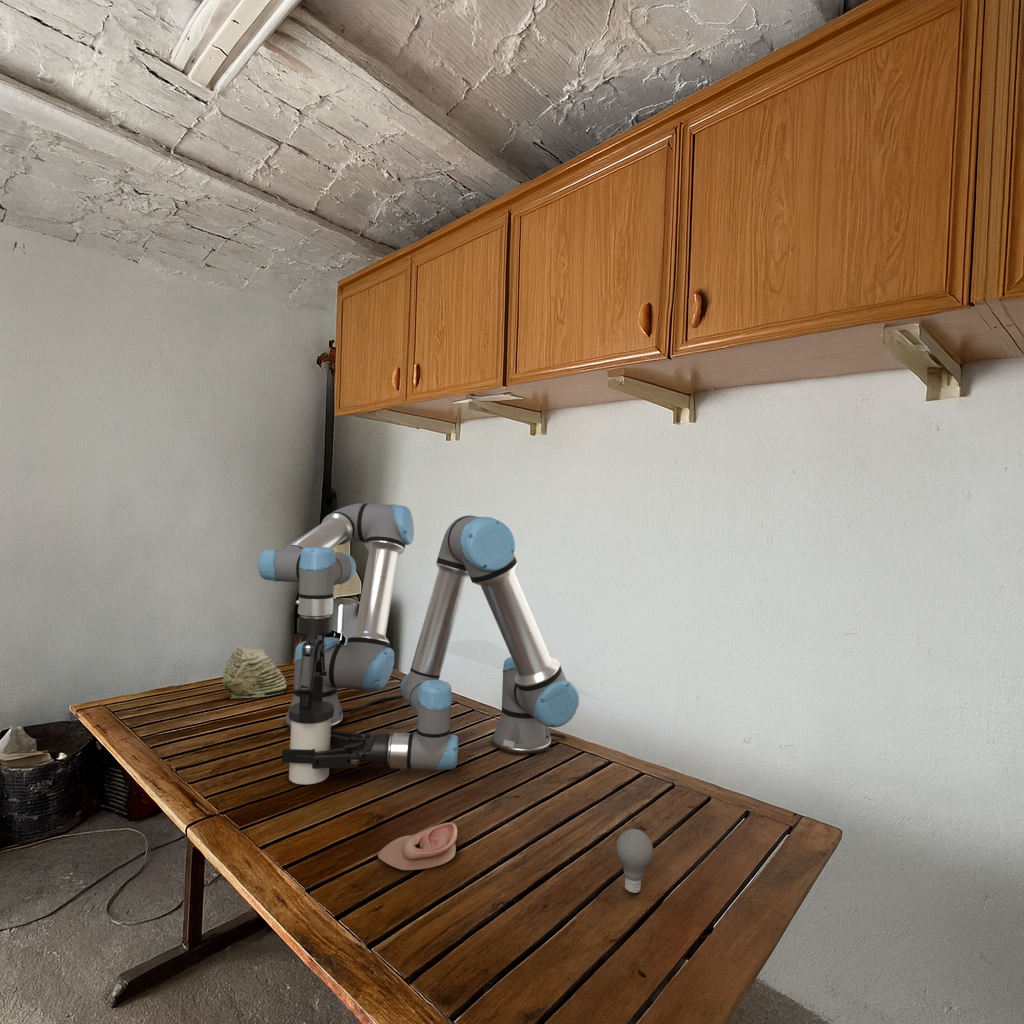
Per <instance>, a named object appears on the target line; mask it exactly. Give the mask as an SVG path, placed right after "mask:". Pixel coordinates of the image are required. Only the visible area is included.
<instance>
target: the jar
mask: <svg viewBox="0 0 1024 1024" xmlns="http://www.w3.org/2000/svg"><path fill="white" fill-rule="evenodd" d="M331 730H332V729H331V718H330V719H329V720H326V721H323V722H318V723H297V722H294V721H291V729H290V740H289V749H302V750H312V749H315V752H318V751H325V750H331V746H330V735H331ZM288 765H289V766H288V767H289V768H288V779H289V781H290V782H292V783H293V784H297V785H313V784H318V783H321V782H323V781H325V780H326V779H328V778H329V776H330V768H320V769H313V768H312V763H288Z"/></svg>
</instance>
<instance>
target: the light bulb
mask: <svg viewBox="0 0 1024 1024" xmlns="http://www.w3.org/2000/svg"><path fill="white" fill-rule="evenodd" d="M615 849H616V854H617V857H618V859H619V861H620V863H621V865H622V867H623V873H624V874H623V875H624V876H625V878H624V888H625V890H627V891H628V892H630V893H634V894H635V893H639V892H640V891H641V889H642V887H641V886H642V879H643V877H644V875H645V871H646V868H647V867H648V866H649V864H650V863H651V861H652V859H653V855H654V847H653V843H652V841H651V838H649V836H648V835H647V834H646V833H645V832H643V831H642V830H641V829H636V828H629V829H627V830H625V831H623V832H622V833H621V834H620V835H619V837H618V839H617V841H616V847H615Z"/></svg>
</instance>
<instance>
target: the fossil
mask: <svg viewBox="0 0 1024 1024" xmlns="http://www.w3.org/2000/svg"><path fill="white" fill-rule="evenodd" d="M222 676H223V677H222V685H223V687H224V688H225V690H226V691H228V693H229V698H230V699H250V698H264V697H271V696H275V695H281V694H284V693H285V691H286V689H287V687H288V686H287V680H286V678H285V676H284V674H283V673H282V672H281V669H279V668H278V667H277V665H276V663H275V662H274V660H273V659H272V658H271V657H270V656H269V655H268V654H267V653H266V652H265V650H264V649H263V648H260V647H258V648H251V647H247V646H246V647H245V646H238V647H237V648H236V649H235V650H233V651H232V653H231V656H230V657H229V659H228V660H227V663H226V666H225V668H224V671H223V675H222Z"/></svg>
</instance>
